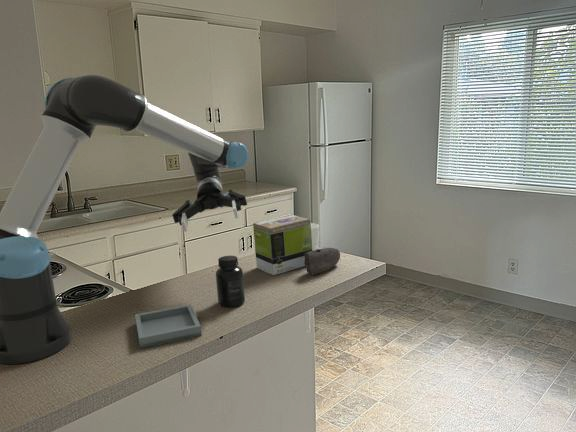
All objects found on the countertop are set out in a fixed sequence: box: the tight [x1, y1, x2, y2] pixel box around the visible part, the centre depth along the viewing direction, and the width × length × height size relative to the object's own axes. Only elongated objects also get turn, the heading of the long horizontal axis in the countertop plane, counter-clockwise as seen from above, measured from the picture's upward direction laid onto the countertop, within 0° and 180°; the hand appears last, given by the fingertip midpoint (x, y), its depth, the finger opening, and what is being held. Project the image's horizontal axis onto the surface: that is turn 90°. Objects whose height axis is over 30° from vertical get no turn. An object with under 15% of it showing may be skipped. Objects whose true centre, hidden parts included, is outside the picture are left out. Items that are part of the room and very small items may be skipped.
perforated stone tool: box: [304, 247, 341, 276], centre depth 140 cm, size 15×5×7 cm, turn 132°
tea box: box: [252, 214, 312, 276], centre depth 145 cm, size 15×10×15 cm, turn 124°
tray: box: [134, 304, 203, 349], centre depth 107 cm, size 13×13×2 cm
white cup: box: [310, 222, 320, 251], centre depth 155 cm, size 8×8×10 cm
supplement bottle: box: [215, 255, 246, 309], centre depth 119 cm, size 7×7×12 cm
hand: (209, 220), depth 121 cm, fingers open, 13 cm apart
